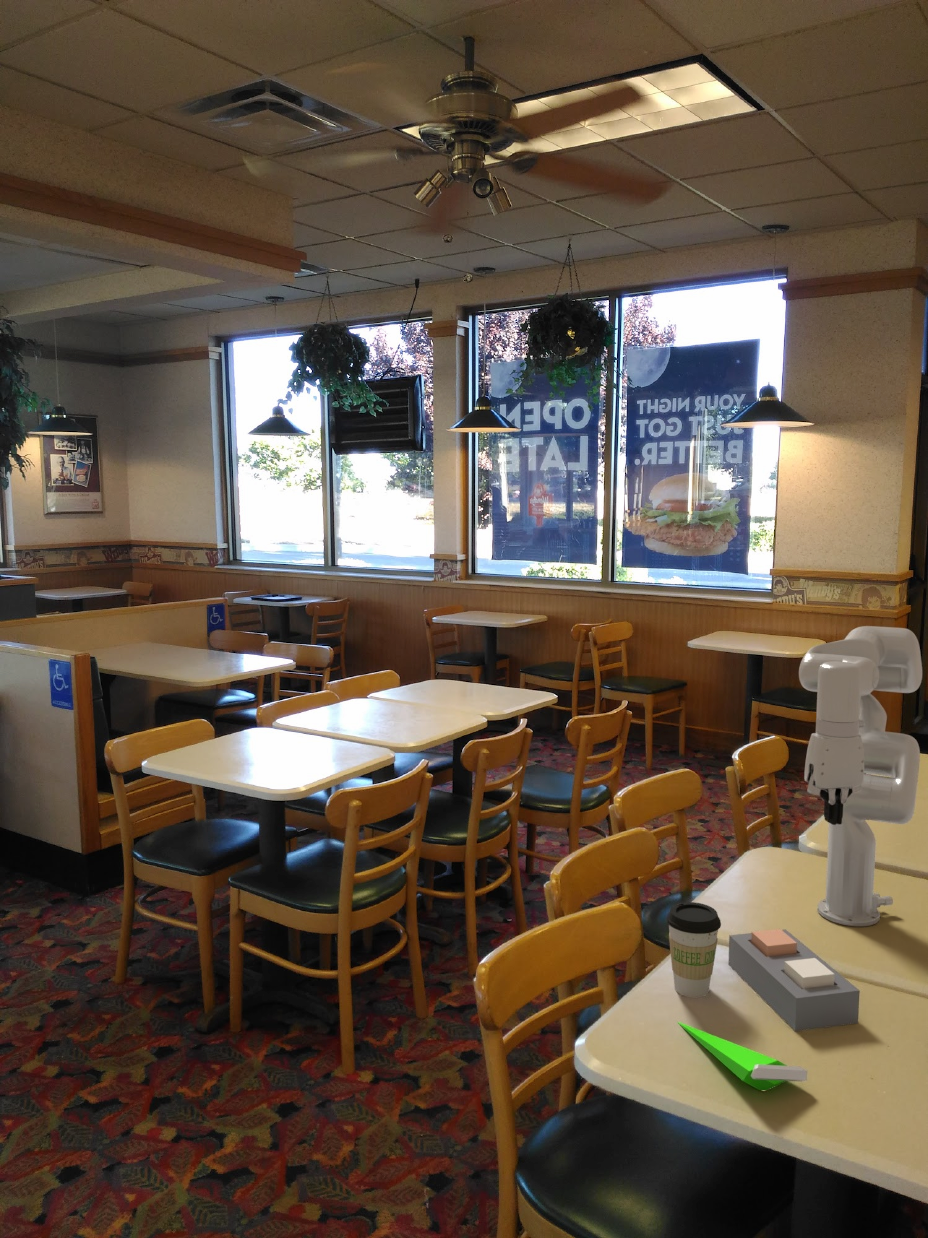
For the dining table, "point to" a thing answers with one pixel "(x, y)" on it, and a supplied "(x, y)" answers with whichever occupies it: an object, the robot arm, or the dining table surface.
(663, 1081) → the dining table surface
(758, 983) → the key panel
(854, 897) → the robot arm
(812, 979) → the cream key
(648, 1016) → the dining table surface
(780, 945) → the terracotta key
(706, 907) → the coffee cup
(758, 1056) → the green triangular piece
